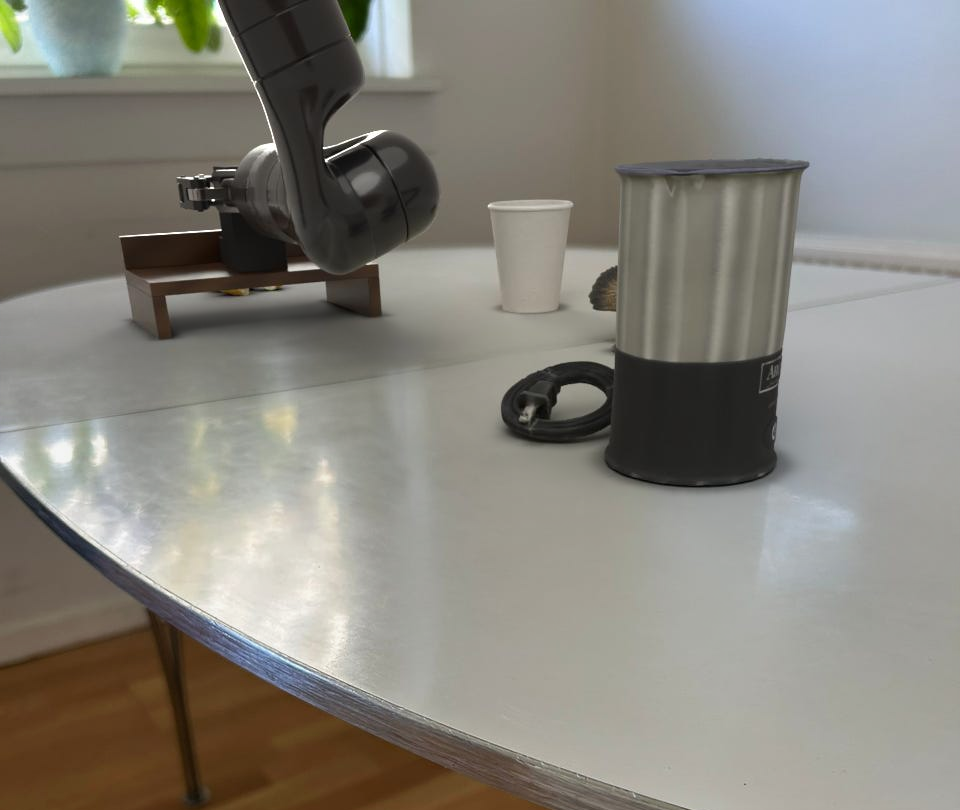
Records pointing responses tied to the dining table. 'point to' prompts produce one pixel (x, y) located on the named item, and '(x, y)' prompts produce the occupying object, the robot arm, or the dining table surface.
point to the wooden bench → (224, 276)
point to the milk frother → (687, 325)
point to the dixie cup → (530, 252)
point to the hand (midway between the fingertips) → (240, 187)
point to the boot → (248, 244)
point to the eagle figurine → (605, 292)
